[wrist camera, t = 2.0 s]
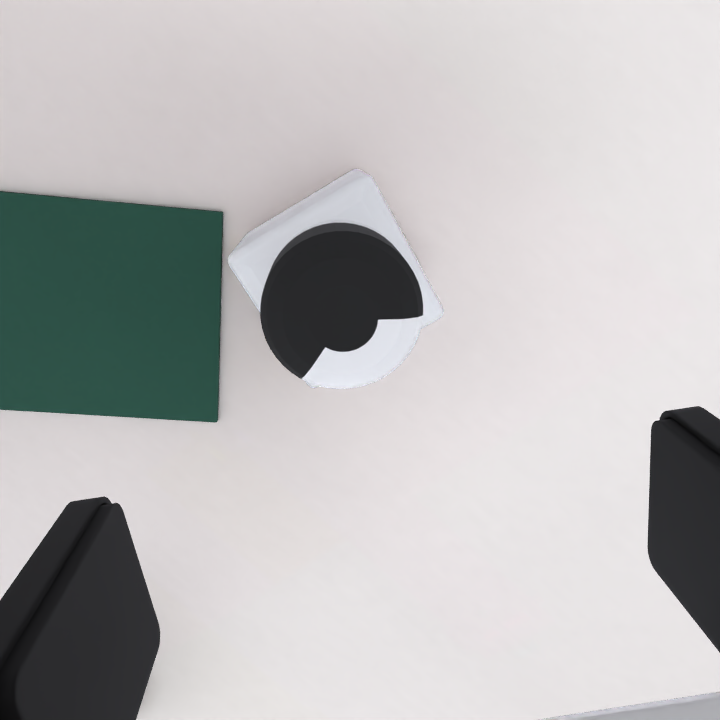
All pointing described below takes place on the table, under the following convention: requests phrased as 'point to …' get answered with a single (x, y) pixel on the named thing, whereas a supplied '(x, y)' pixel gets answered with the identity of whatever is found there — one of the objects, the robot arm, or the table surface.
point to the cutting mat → (109, 308)
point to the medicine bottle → (337, 285)
